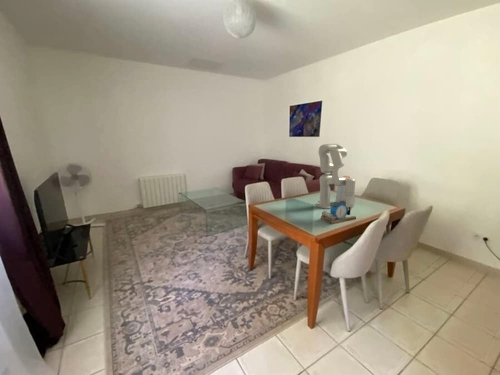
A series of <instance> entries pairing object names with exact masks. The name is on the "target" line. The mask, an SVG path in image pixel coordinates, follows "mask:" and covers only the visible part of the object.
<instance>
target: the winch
mask: <svg viewBox="0 0 500 375" xmlns="http://www.w3.org/2000/svg"><path fill="white" fill-rule="evenodd" d="M336 217H337V215H335V214H330V212H327V211H325V210H324V211H322V212H321V216H320V219H321V220H322V221H325V222H326V223H329V224H331V225H333V224H336V223H335V220H337V219H336Z"/></svg>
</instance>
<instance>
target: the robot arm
mask: <svg viewBox="0 0 500 375" xmlns="http://www.w3.org/2000/svg"><path fill="white" fill-rule="evenodd" d="M328 154H329V155H330V156H329V155H328ZM347 154H348V151H347V149H346V148H345V147H343V146H341V145H339V144H338V143H325V144H321V145H320V146H319V147H318V156H319V163H320V164H319V166H320V168H319V169H320V172H321V173H322V175H320V177H319V200H318V201H317V203H318V204H317V207H318V208H321V209H331V207H332V205H331V191H332V190H331V186H330V185H334V186H335V187H338V186H345V193H344V196H343V200H342V201H344V202H345V204H344V205H346V207H347V214H346V215H347V216H351V211H352V208H354V207H355V206H356V196H355V193H356V191H355V189H356V180H355V179H354V178H351V177H350V176H349V177H350V178H349V177H343V176H341V177H339V169H341V168H342V167H344V166H345V162H344V160H343V159H344V158H346V157H347V156H348V155H347ZM330 157H331V161H332V162H330ZM342 204H343V203H342Z"/></svg>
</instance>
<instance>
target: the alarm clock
mask: <svg viewBox="0 0 500 375" xmlns="http://www.w3.org/2000/svg"><path fill="white" fill-rule="evenodd" d="M341 203H343V204H341ZM344 204H345V202H344V201H339V203H338V202H336V201H334V202H332V205H331V208H330V210H329V213H330V214H335V215H337V217H336V219H335V220H337V219H342V218H346V215H347V207H346V205H344Z"/></svg>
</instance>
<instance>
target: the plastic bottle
mask: <svg viewBox="0 0 500 375" xmlns="http://www.w3.org/2000/svg"><path fill="white" fill-rule="evenodd" d="M342 177H349V178H351V177H350V176H349V175H343V176H342ZM336 188H337V189H336V196H335V202H338V203H339V201H342V200H343V196H344V193H345V186H336ZM341 204H342V203H341Z"/></svg>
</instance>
